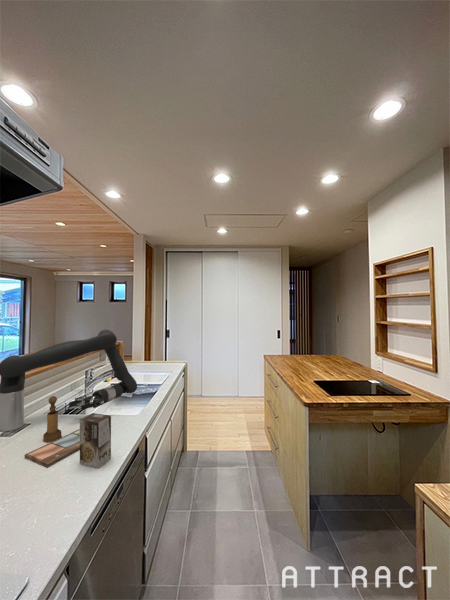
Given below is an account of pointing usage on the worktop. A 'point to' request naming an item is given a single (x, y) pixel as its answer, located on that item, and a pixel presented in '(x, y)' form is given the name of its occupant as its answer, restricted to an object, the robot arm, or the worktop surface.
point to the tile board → (56, 450)
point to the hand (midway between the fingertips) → (75, 406)
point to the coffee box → (95, 440)
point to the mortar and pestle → (52, 423)
